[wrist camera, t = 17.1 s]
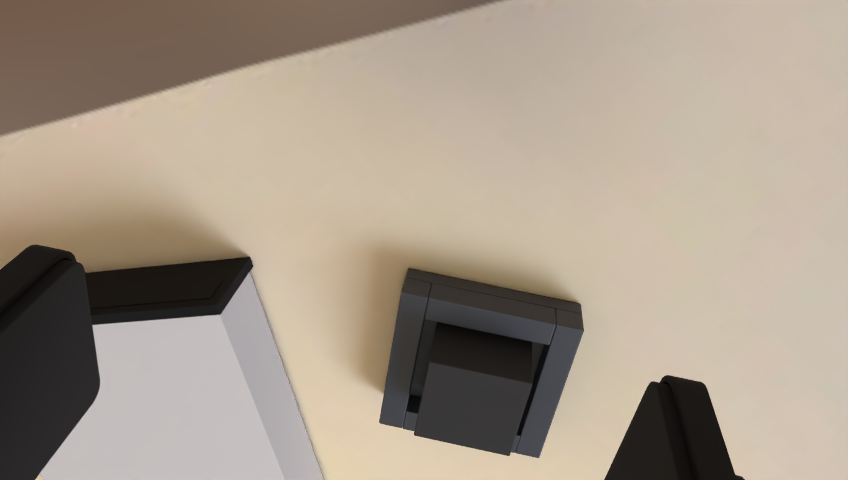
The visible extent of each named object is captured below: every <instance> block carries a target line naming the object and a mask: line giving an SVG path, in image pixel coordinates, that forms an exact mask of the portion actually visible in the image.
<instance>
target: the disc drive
mask: <svg viewBox="0 0 848 480" xmlns="http://www.w3.org/2000/svg"><path fill="white" fill-rule="evenodd" d="M252 267H253V264H252V261H251V259H250V257H247V258H237V259H227V260H217V261H207V262H196V263H186V264H176V265H166V266H156V267H146V268H136V269H126V270H116V271H106V272H96V273H86V274H85V278H86V285H87V292H88V298H89V305H90V312H91V319H92V326H93V333H94V340H95V347H96V354H97V361H98V368H99V375H100V388H99V392H98V395H97V397H96V399H95V401H94V402H93V404H92V405H91V407H90V408H89V409H88V411H87V412H86V413H85V414H84V416H83V417H82V418H81V420H80V421H79V422H78V424H77V425H76V426H75V428H74V429H73V430H72V432H71V433H70V434H69V436H68V437H67V438H66V439H65V441H64V442H63V443H62V445H61V446H60V447H59V449H58V450H57V451H56V453H55V454H54V455H53V457H52V458H51V459H50V461H49V462H48V463H47V464H46V466H45V467H44V468H43V470H42V471H41V472H40V476H41V477H42V479H43V480H324V479H323V476H322V474H321V471H320V468H319V465H318V462H317V460H316V457H315V454H314V451H313V448H312V446H311V443H310V440H309V437H308V434H307V432H306V429H305V426H304V423H303V420H302V418H301V415H300V412H299V409H298V406H297V404H296V401H295V398H294V395H293V392H292V390H291V387H290V384H289V381H288V378H287V376H286V373H285V370H284V367H283V364H282V361H281V359H280V356H279V353H278V350H277V347H276V345H275V342H274V339H273V336H272V333H271V331H270V328H269V325H268V322H267V319H266V317H265V314H264V311H263V308H262V305H261V303H260V300H259V297H258V294H257V291H256V289H255V286H254V283H253V280H252V277H251V275H250V270H251V269H252Z"/></svg>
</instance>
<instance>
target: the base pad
mask: <svg viewBox="0 0 848 480" xmlns="http://www.w3.org/2000/svg"><path fill="white" fill-rule="evenodd" d="M437 322H441V323H445V324H450V325H455V326H460V327H464V328H469V329H474V330H479V331H483V332H488V333H493V334H498V335H502V336H507V337H512V338H517V339H522V340H526V341H531V342H532V383H533V384H532V387H531V390H530V393H529V397H528V400H527V403H526V406H525V409H524V412H523V415H522V418H521V422H520V425H519V428H518V431H517V434H516V437H515V440H514V444H513V447H512V450H511V452H513V453H518V454H522V455H527V456H532V457H536V458H539V457H540V454H541V451H542V448H543V445H544V442H545V439H546V437H547V434H548V431H549V428H550V425H551V422H552V420H553V417H554V414H555V411H556V408H557V405H558V403H559V400H560V397H561V394H562V391H563V388H564V385H565V383H566V380H567V377H568V374H569V371H570V368H571V366H572V363H573V360H574V357H575V354H576V351H577V349H578V346H579V343H580V340H581V337H582V334H583V332H584V328H583V319H582V311H581V305H580V304H578V303H573V302H568V301H563V300H558V299H553V298H549V297H544V296H539V295H534V294H529V293H525V292H520V291H515V290H510V289H505V288H500V287H496V286H491V285H486V284H481V283H476V282H471V281H467V280H462V279H457V278H452V277H447V276H443V275H438V274H433V273H428V272H423V271H418V270H414V269H408V271H407V274H406V278H405V281H404V284H403V288H402V291H401V296H400V302H399V308H398V314H397V320H396V326H395V332H394V337H393V343H392V349H391V355H390V361H389V367H388V373H387V379H386V385H385V391H384V397H383V403H382V409H381V414H380V420H379V422H380V424H385V425H390V426H394V427H399V428H403V429H407V430H411V431H415V427H416V422H417V417H418V412H419V407H420V402H421V397H422V392H423V387H424V382H425V377H426V372H427V368H428V363H429V358H430V353H431V348H432V344H433V339H434V334H435V329H436V324H437Z"/></svg>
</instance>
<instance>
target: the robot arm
mask: <svg viewBox="0 0 848 480" xmlns="http://www.w3.org/2000/svg"><path fill="white" fill-rule="evenodd" d="M99 388H100V375H99V368H98V361H97V354H96V347H95V340H94V333H93V326H92V319H91V312H90V305H89V298H88V292H87V285H86V278H85V271H84V267H83V265H82V264H81V263H78V262H76V259H75V256H74V255H73V254H72V253H71V252H69V251H64V250H60V249H55V248H50V247H45V246H40V245H31V246H29V247H28V248H26V249H25V250H24V251H22V252H21V253H20V254H19V255H18V256H16V257H15V258H14V259H13V260H12V261H10V262H9V263H8V264H7V265H6V266H4V267H3V268H2V269H1V270H0V480H35V479H36V478H37V476H38V475H39V474H40V472H41V471H42V470H43V468H44V467H45V466H46V464H47V463H48V462H49V461H50V459H51V458H52V457H53V455H54V454H55V453H56V451H57V450H58V449H59V447H60V446H61V445H62V443H63V442H64V441H65V439H66V438H67V437H68V436H69V434H70V433H71V432H72V430H73V429H74V428H75V426H76V425H77V424H78V422H79V421H80V420H81V418H82V417H83V416H84V414H85V413H86V412H87V411H88V409H89V408H90V407H91V405H92V404H93V402H94V401H95V399H96V397H97V395H98V392H99ZM604 480H745V479H744V478H743V477H741V476H737V475H735V473H734V470H733V467H732V464H731V461H730V458H729V455H728V451H727V448H726V445H725V442H724V439H723V436H722V433H721V430H720V427H719V424H718V421H717V418H716V415H715V412H714V409H713V406H712V403H711V399H710V396H709V393H708V390H707V388H706V386H705V384H703V383H702V382H698V381H693V380H688V379H684V378H679V377H674V376H669V375H667V376H664V377H663V378H662V380H661V381H660V383H658V382H651V383H650V384H649V385H648V387H647V389H646V391H645V393H644V395H643V397H642V400H641V402H640V404H639V406H638V408H637V410H636V413H635V415H634V417H633V419H632V421H631V423H630V426H629V428H628V430H627V432H626V434H625V436H624V438H623V441H622V443H621V445H620V447H619V449H618V451H617V454H616V456H615V458H614V460H613V462H612V464H611V467H610V469H609V471H608V473H607V475H606V477H605V479H604Z"/></svg>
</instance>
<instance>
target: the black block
mask: <svg viewBox="0 0 848 480" xmlns="http://www.w3.org/2000/svg"><path fill="white" fill-rule="evenodd" d="M532 384H533V383H532V342H531V341H526V340H522V339H517V338H512V337H507V336H502V335H498V334H493V333H488V332H483V331H479V330H474V329H469V328H464V327H460V326H455V325H450V324H445V323H441V322H437V324H436V329H435V334H434V339H433V344H432V348H431V353H430V358H429V363H428V368H427V372H426V377H425V382H424V387H423V392H422V397H421V402H420V407H419V412H418V417H417V422H416V427H415V432H414V435H415V436H420V437H424V438H429V439H433V440H438V441H443V442H447V443H452V444H456V445H461V446H466V447H470V448H475V449H479V450H484V451H489V452H493V453H498V454H502V455H507V456H510V453H511V450H512V447H513V444H514V440H515V437H516V434H517V431H518V428H519V425H520V422H521V418H522V415H523V412H524V409H525V406H526V403H527V400H528V397H529V393H530V390H531V387H532Z"/></svg>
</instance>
